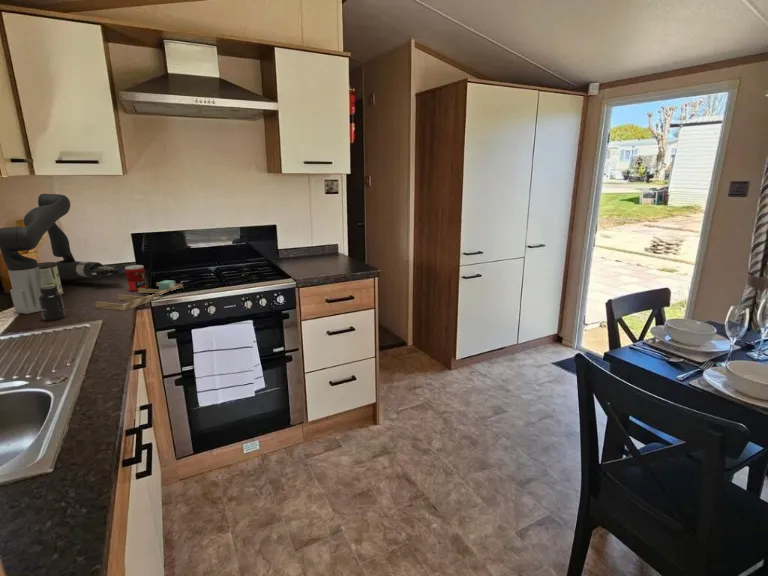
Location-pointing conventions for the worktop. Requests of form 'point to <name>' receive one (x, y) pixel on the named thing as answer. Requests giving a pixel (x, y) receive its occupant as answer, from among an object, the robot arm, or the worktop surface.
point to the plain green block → (166, 284)
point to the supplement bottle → (51, 304)
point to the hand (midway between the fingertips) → (118, 271)
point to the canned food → (135, 277)
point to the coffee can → (50, 275)
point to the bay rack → (135, 298)
